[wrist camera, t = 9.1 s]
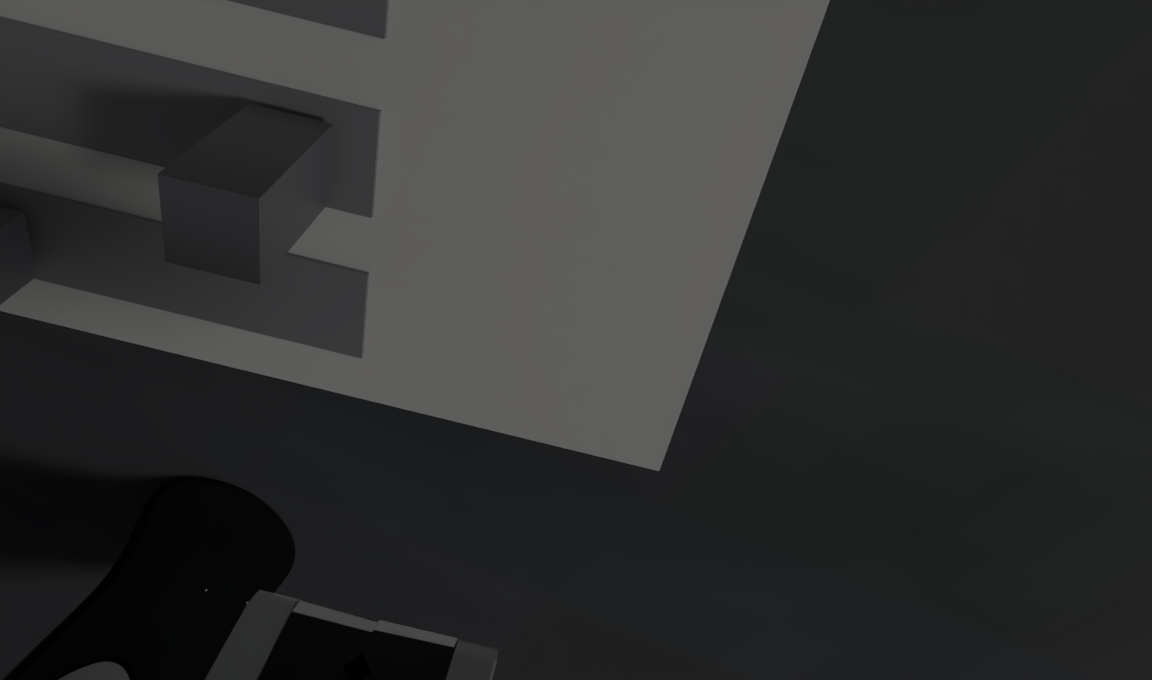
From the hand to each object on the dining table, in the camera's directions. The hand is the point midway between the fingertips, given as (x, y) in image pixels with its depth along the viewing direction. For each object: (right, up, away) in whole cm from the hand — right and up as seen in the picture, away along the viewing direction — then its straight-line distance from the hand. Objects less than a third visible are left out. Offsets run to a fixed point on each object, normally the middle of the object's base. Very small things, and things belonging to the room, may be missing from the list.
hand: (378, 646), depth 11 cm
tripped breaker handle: (-4, +8, +10) cm, 13 cm away
